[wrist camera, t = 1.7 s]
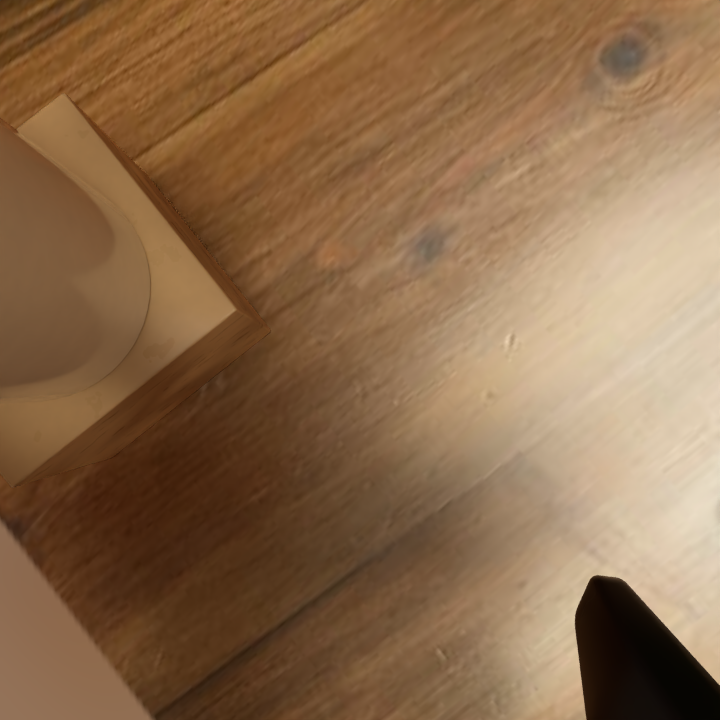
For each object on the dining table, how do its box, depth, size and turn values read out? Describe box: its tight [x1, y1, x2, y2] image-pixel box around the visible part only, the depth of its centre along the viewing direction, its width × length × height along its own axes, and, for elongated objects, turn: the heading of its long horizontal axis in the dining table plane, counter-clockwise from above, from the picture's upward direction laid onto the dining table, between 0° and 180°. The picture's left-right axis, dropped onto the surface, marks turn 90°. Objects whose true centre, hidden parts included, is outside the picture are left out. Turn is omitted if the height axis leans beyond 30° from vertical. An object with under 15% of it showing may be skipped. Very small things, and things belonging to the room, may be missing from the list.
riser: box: [0, 93, 271, 488], centre depth 21 cm, size 8×8×7 cm
